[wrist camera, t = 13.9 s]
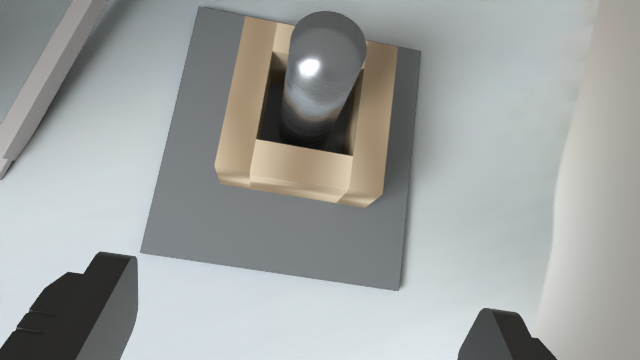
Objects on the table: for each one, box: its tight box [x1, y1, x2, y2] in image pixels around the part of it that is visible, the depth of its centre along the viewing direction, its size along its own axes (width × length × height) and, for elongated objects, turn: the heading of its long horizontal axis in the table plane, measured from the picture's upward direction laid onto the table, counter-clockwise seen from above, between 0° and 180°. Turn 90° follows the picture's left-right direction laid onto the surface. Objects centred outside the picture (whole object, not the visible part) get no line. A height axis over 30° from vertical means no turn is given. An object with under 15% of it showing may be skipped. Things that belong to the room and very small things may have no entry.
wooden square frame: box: [214, 16, 398, 208], centre depth 26 cm, size 9×9×4 cm
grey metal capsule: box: [279, 11, 367, 150], centre depth 23 cm, size 3×3×10 cm
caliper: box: [0, 0, 109, 180], centre depth 26 cm, size 20×1×6 cm, turn 155°
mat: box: [140, 6, 421, 291], centre depth 28 cm, size 15×16×1 cm
